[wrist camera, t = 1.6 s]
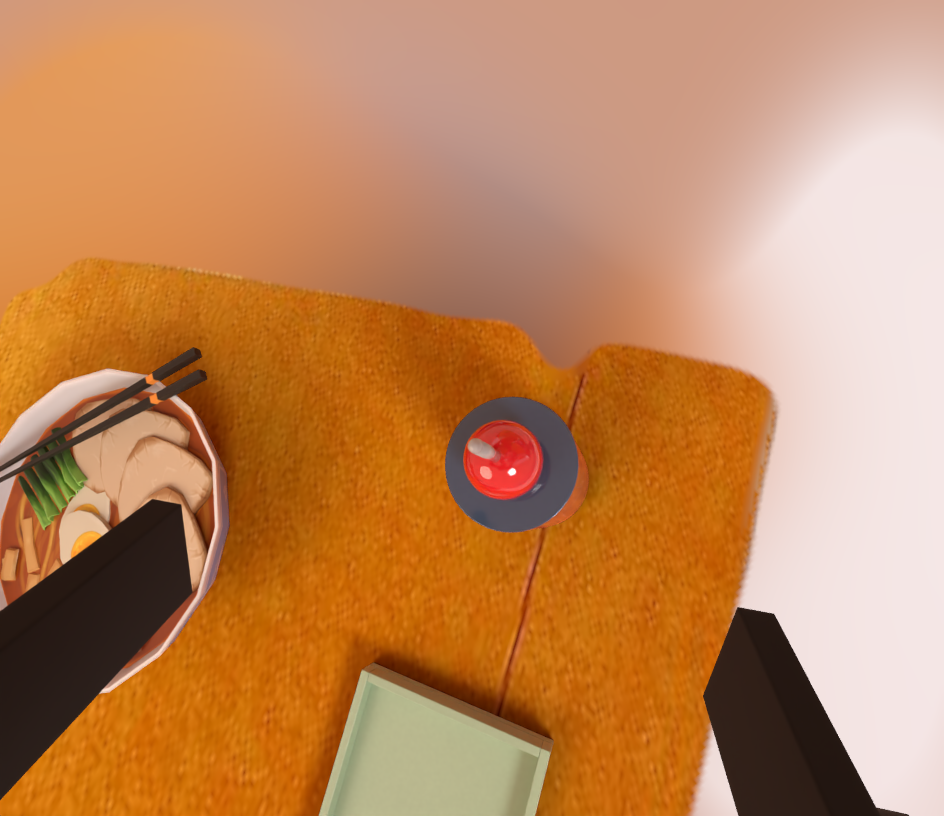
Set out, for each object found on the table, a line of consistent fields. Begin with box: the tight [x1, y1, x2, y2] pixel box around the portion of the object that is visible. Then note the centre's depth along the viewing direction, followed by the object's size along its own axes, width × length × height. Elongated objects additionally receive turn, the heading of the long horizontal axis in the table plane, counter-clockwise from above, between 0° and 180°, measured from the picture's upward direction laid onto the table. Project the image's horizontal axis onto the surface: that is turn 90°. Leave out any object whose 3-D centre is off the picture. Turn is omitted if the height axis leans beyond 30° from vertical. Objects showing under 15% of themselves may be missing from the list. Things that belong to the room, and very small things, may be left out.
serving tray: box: [319, 663, 553, 816], centre depth 33 cm, size 13×13×2 cm
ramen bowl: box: [0, 347, 229, 693], centre depth 40 cm, size 25×23×8 cm
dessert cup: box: [445, 397, 589, 532], centre depth 28 cm, size 7×7×18 cm
